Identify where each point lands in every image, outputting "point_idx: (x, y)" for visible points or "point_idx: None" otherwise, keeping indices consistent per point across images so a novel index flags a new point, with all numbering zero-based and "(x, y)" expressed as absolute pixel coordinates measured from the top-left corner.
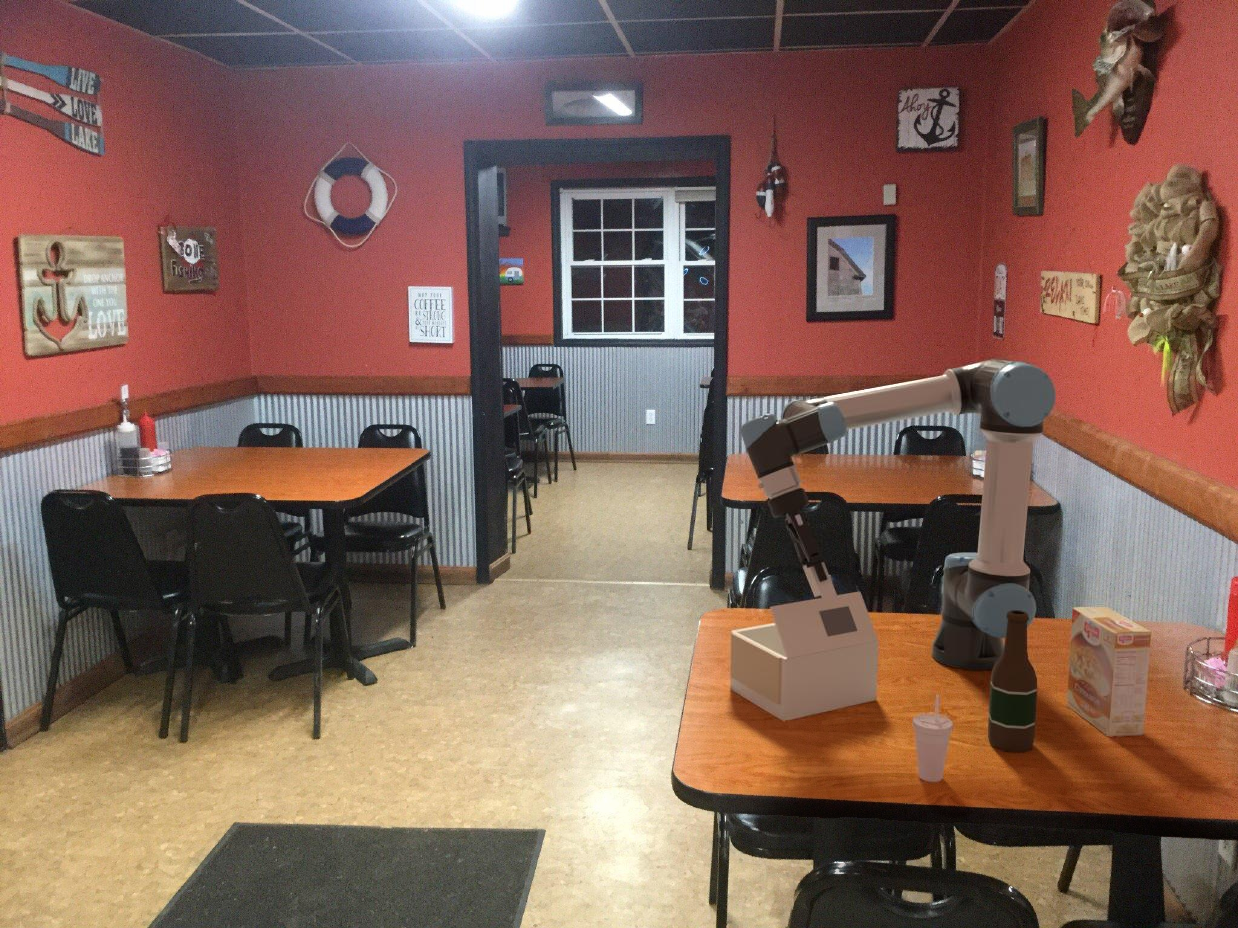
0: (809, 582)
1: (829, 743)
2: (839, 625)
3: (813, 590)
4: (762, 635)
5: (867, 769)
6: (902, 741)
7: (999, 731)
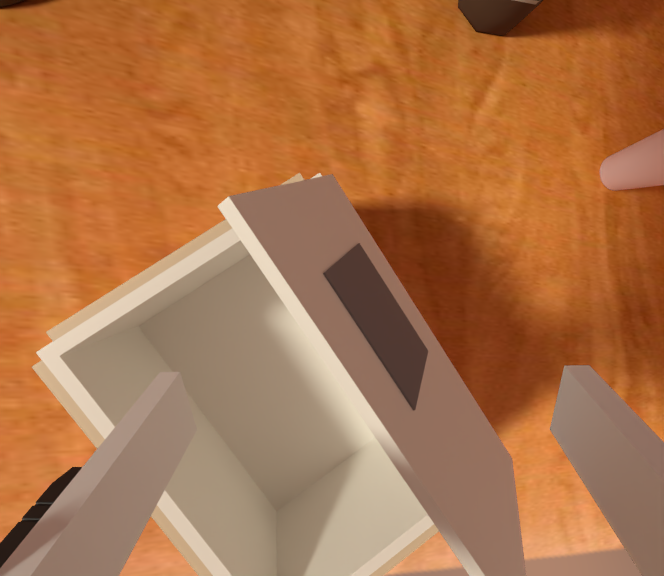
0: (155, 505)
1: (512, 321)
2: (389, 312)
3: (181, 455)
4: (220, 534)
5: (598, 267)
6: (495, 192)
7: (538, 3)
